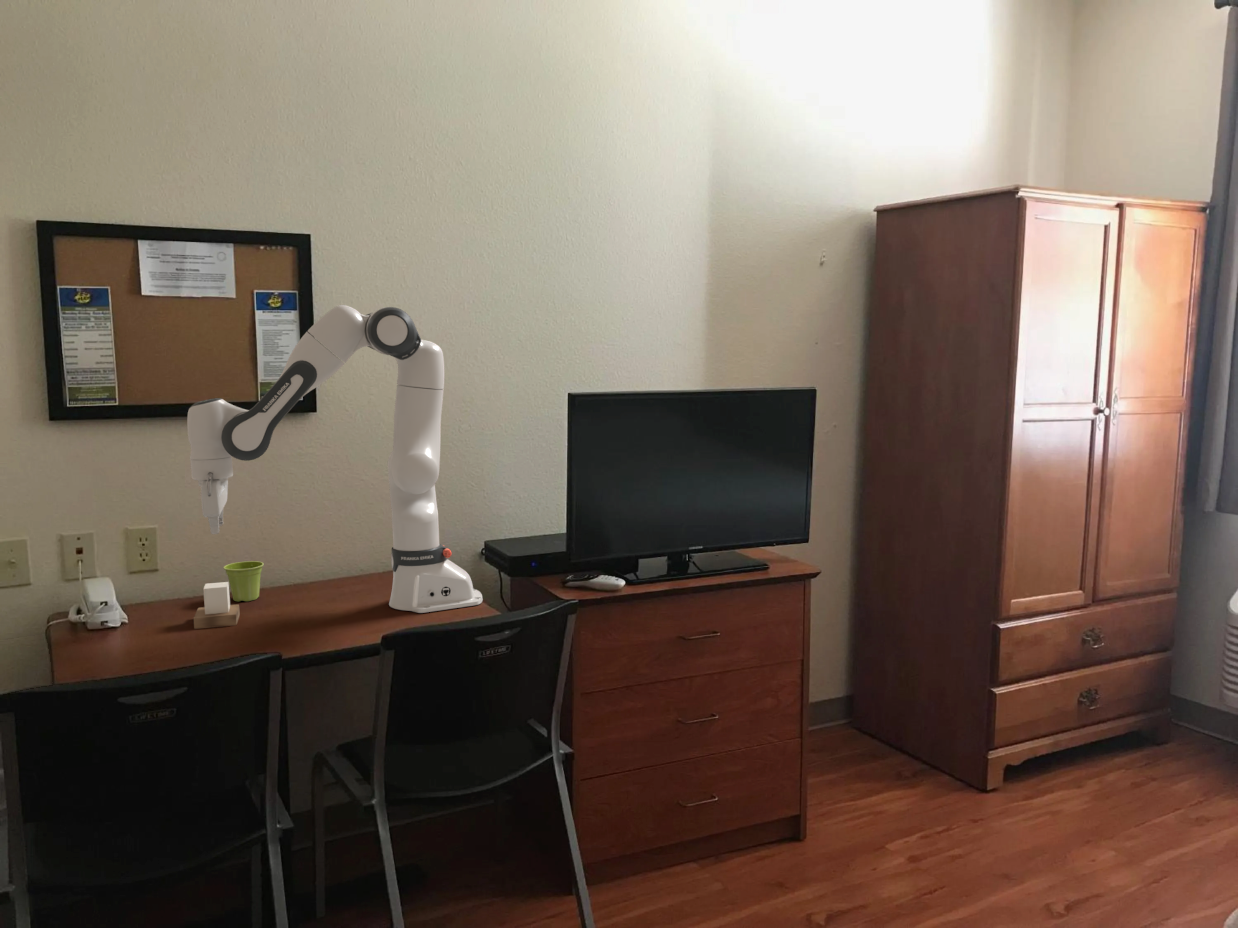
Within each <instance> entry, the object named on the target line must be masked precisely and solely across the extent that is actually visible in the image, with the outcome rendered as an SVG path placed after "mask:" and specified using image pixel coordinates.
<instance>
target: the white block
mask: <svg viewBox="0 0 1238 928" xmlns="http://www.w3.org/2000/svg"><path fill="white" fill-rule="evenodd" d="M202 590H203V601H204V607H205V614H216V613H227V612H229V609H230V605H231V598H230V583H229V581H225V582H224V581H223V582H211V583H209V582H208V583H204V586H203V589H202Z"/></svg>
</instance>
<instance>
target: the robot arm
mask: <svg viewBox="0 0 1238 928" xmlns="http://www.w3.org/2000/svg"><path fill="white" fill-rule="evenodd" d="M364 347H368V348H370V349H372V350H373V351H376V352H378V353H379V354H382V355H387V356H391V357H393V358H394V359H395V360H396V363H397V380H396V389H395V390H396V391H395V401H394V410H393V411H394V412H393V443H392V444H393V445H392V451H391V452H390V454H389V456H388V459H387V477H388V487H389V499H390V500H389V501H390V510H391V511H390V512H391V524H392V525H391V527H392V528H391V529H392V547H391V552H390V555H391V556H390V559H391V569H392V574H393V576H392V577H393V578H392V587H391V588H392V589H391V594H390V598H389V603H388V605H389V607H390V608H392V609H395V610H399V611H409V612H413V613H418V614H423V613H429V612H430V613H432V612H437V611H445V610H452V609H457V608H466V607H472V606H478V605H480V604H482V603H483V600H484V599H483V594H482V592H481V591H480V590H478V589H475V588H474V586H473V585H474V584H473V581H472V579H471V575H470V574H469V573H468V572H467V571H466V570H465V569H463V568H462V567H460V566H459V565H457V564H456V563H455V562H453V561H451V560H450V559H449V558H451V557H452V554H453V553H452V551H451V549H449V548H448V547H447V546H446V545H444V544H441V543H440V529H439V528H440V526H439V524H440V523H439V511H438V502H437V493H436V483H437V482H438V479H439V477H440V476H439V475H440V469H441V468H440V466H441V465H440V464H441V438H442V437H441V435H442V432H441V431H442V430H441V428H442V426H441V424H442V412H443V402H444V400H443V399H444V390H445V376H446V375H445V374H446V373H445V358H444V352H443V349H442V348H441V347H440V345H438V344H436V343H435V342H433V341H430V340H425V339H422V337H421V336H420V334H419V332H418V330H417V327H416V325H415V323H414V321H413V319H412V318H411V316H410V315H409V314H408V313H407V312H406V311H404V310H402V309H401V308H398V307H394V306H385V307H380V308H379V309H376V310H374V312H370V313H367V314H363V313H361V312H360V311H358V310H357V309H356V308H354V307H352V306H349V305H346V304H339V305H338V304H337V305H335V306H334V307H332V308H331V309H330V310H328V311H327V312H326V313H325V314H323V315H322V316H321V317H320V318H319V319H317V321H316V322H315V323H313V325H311V327H309V328H308V330H307V331H306V332H305V333H304V334H303V335H302V337H301V338H300V339H299V340H298V342H297V343H296V345H295V346H294V348H293V350H292V351H291V353H290V355H289V356H288V359H287V361H286V364H285V366H284V368H283V371H282V372H281V374H280V376H279V377H278V378H277V380H276V381H275V383H273V385H272V386H271V387H270V389H269V390H267V391H266V392H265V394H264V395H263V396H262V397H261V398H260V400H259V401H257V403H256V404H255V405H253V407H251V408H250V409H245V408H242V407H239V406H237V405H233V404H232V403H229V402H227V401H226V400H224V399H223V398H220V397H219V398H218V397H215V398H209V399H205V400H201V401H197V402H194V403H193V404H191V406H190V407H189V408H188V412H187V420H186V421H187V425H186V426H187V428H186V429H187V439H188V443H189V446H190V454H189V461H190V473H191V479H192V480H194V481H197V483H198V485H197V486H198V487H200V499H201V501H200V502H201V511H202V517H204V518H207V519H208V520H207V521H208V524H209V529H210V530H209V531H210V534H211V535H218V534H219V533H220V532H221V531H220V527H222V526H223V525H224V508H225V506H226V504H227V502H228V494H229V490H228V489H229V478H232V477H233V476H234V469H233V468H234V467H233V459H232V458H234V459H236V460H240V461H248V462H249V461H253V460H256V459H259V458H261V456H263V455H264V454H265V453H266V452H267V450H268V448H269V446H270V443H271V440H272V437H273V433H274V431H275V429H276V427H277V426H278V425H279V424H280V423H281V421H283V419H284V418H285V416H286V415H287V414H288V413H289V412H290V411H291V410H292V409H293V408H294V407H295V406H296V404H297V403H298V402H299V401H300V400H301V399H302V398H303V397H305V396H306V395H307V394H308V393H310V392H311V391H313V390H314V389H316V388H318V387H319V386H320V385H322V384H324V383H325V382H326V381H328V380H329V379H330V378H332V377H333V376H334V375H335V374H336V373H337V372H339V371H340V369H341V368H342V367H344V366H345V364H347V362H348V360H349V359H350V358H351V357H352V356H353V355H354V354H355V353H356V352H357V351H358V350H360V349H362V348H364Z"/></svg>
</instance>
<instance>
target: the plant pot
mask: <svg viewBox="0 0 1238 928" xmlns="http://www.w3.org/2000/svg"><path fill="white" fill-rule="evenodd" d="M263 567H264V562H262V561H257V560H256V561H255V560H254V561H253V560H252V561H251V560H248V561H240V562H239V561H238V562H231V563H229V564H226V565H224V566H223V570H225V574H226V575H227V578H228V582H229V588H230V590H231V595H232V600H233V601H235V602H238V603H239V602H241V601H243V602H250V601H255V600H257V599H258V598H260V587H261V573H262V570H263Z"/></svg>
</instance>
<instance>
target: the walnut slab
mask: <svg viewBox="0 0 1238 928" xmlns="http://www.w3.org/2000/svg"><path fill="white" fill-rule="evenodd" d="M239 619H240V604H239V603H238V604H230V609H229V612H227V613H216V614H205V606H203V607H198V608H197V610H196V612H195V614H194V616H193V629H194V630H197V629H207V628H219V627H229V626H237V624H238V623H239Z"/></svg>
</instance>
